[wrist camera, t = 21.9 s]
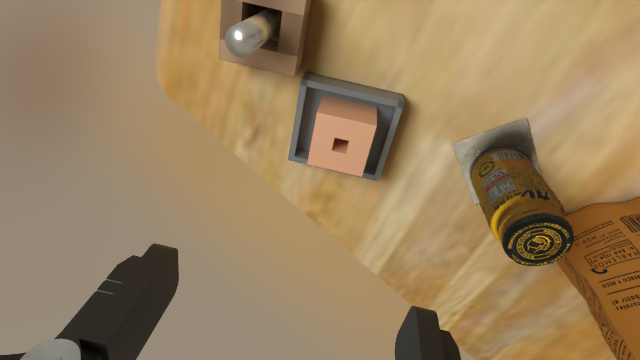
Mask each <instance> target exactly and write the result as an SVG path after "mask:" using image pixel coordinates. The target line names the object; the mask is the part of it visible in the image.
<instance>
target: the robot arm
mask: <svg viewBox="0 0 640 360" xmlns="http://www.w3.org/2000/svg"><path fill="white" fill-rule="evenodd" d="M178 281H179V273H178V250H177V249H176V248H172V247H168V246H164V245H160V244H152V245H151V246H150V247H149V249H148V250H147V251H146V252H145V254H144V255H143V256H142V257H138V256H134V255H133V256H131V257H130V258H128V259H126V260H125V261H123V262H121V263H120V264H118V265H117V266H116V268H114V270H113V271H112V272H111V273H110V274H109V276H108V277H107V278H106V281H104V282H103V283H102V284H101V285H100V286H99V288H98V289H97V291H96V292H94V294H93V295H92V296H91V297H90V298H89V300H88V301H87V302H86V303H85V305H84V306H83V307H82V308H81V309H80V310H79V312H78V313H77V314H76V315H75V317H73V319H72V320H71V321H70V322H69V323H68V325H67V326H66V327H65V328H64V329H63V331H62V332H61V333H60V334H59V335H58V336H57V337H56V338H55V339H53V340H49V341H46V342H43V343H41V344H39V345H37V346H35V347H34V348H32V349H31V350H29V351H28V352H26V353H21V354H12V355H0V360H136V359H137V356H138V355H139V354H140V352H141V350H142V349H143V347H144V345H145V343H146V342H147V340H148V338H149V337H150V335H151V333H152V332H153V330H154V328H155V327H156V325H157V323H158V322H159V320H160V318H161V317H162V315H163V313H164V311H165V310H166V308H167V306H168V305H169V303H170V301H171V300H172V298H173V296H174V294H175V292H176V289H177V286H178ZM395 360H461V357H460V353H459V348H458V346H457V344H456V343H455V341H454V339H453V337H452V336H451V334H450V332H449V331H444V330H440V328H439V322H438V316H437V313H436V312H435V311H433V310H429V309H425V308H420V307H416V306H412V307H411V308H410V310H409V312H408V314H407V316H406V318H405V320H404V322H403V324H402V326H401V328H400V330H399V332H398V334H397V338H396V343H395Z"/></svg>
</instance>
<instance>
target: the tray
mask: <svg viewBox="0 0 640 360" xmlns="http://www.w3.org/2000/svg"><path fill="white" fill-rule="evenodd" d="M323 95H329V96H333V97H338V98H342V99H346V100H351V101H355V102H360V103H364V104H369V105H373V106H377V127H376V130H375V134H374V137H373V141H372V144H371V148H370V151H369V154H368V158H367V161H366V165H365V168H364V171H363V175H362V178H367V179H371V180H375V181H379V179H380V176H381V173H382V170H383V167H384V164H385V161H386V158H387V155H388V152H389V149H390V146H391V143H392V140H393V137H394V134H395V131H396V128H397V125H398V122H399V119H400V116H401V113H402V110H403V107H404V104H405V101H404V96H403V94H400V93H395V92H391V91H387V90H382V89H378V88H374V87H369V86H365V85H361V84H357V83H352V82H348V81H344V80H339V79H335V78H331V77H326V76H322V75H318V74H313V73H309V72H305V74H304V76H303V77H302V79H301V85H300V91H299V97H298V103H297V109H296V115H295V121H294V127H293V133H292V139H291V145H290V151H289V157H288V160H290V161H294V162H298V163H303V164H307V162H308V156H309V151H310V146H311V141H312V135H313V130H314V125H315V120H316V115H317V111H318V108H319V106H320V103H321V100H322V98H323ZM307 165H308V164H307ZM311 166H312V165H311ZM315 167H317V166H315ZM320 168H321V167H320ZM324 169H325V168H324ZM328 170H330V169H328ZM333 171H334V170H333ZM337 172H339V171H337ZM341 173H343V172H341ZM345 174H347V173H345ZM350 175H352V174H350ZM354 176H356V175H354ZM358 177H360V176H358Z"/></svg>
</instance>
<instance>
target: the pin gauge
mask: <svg viewBox="0 0 640 360" xmlns="http://www.w3.org/2000/svg"><path fill="white" fill-rule="evenodd" d="M281 18H282V12H281V11H280V10H277V9H273V8H268V9H266V10H264V11H262V12H260V13H258V14H256V15H254V16H252V17H250V18H248V19H246V20H244V21H242V22H240V23H238V24H236V25H234V26H232V27H230V28H229V29H228V30H227V32H226V35H225V43H226V46H227V48H228V50H229V51H230V52H231V53H232V54H233V55H235V56H238V57H246V56H249V55H250V54H251V53H253V52H254V51H255V50H256V49H258V48H259V47H260V46H261V45H263V44H264V43H265V42H267V41H268V40H269V39H270V38H272V37H273V36H274V35H275V34H277V33H278V32H279V31H280V27H281Z"/></svg>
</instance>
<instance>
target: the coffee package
mask: <svg viewBox="0 0 640 360" xmlns="http://www.w3.org/2000/svg"><path fill="white" fill-rule="evenodd" d="M565 218H566V220H567V221H568V222H569V224H570V225H571V226H572V230H573V232H574V233H573V235H574V242H573V244H572V247H571V249H570V250H569V251H568V252H567V253H566V254H565V255H564V256H563V257H562V258H560V259H559V260H557V262H558V264H559V265H560V267H561V268H562V270H563V271H564V272H565V274H566V275H567V277H568V278H569V280H570V281H571V283H572V284H573V285H574V286H575V287H576V288H577V290H578V291H579V292H580V294H581V295H582V296H583V297H584V299H585V300H586V301H587V304H588V306H589V309H590V312H591V314H592V316H593V317H594V319H595V320H596V322H597V323H598V325H599V328H600V330H601V332H602V335H603V337H604V339H605V341H606V342H607V344H608V346H609V347H610V349H611V351H612V352H613V354H614V356H615V357H616V359H617V360H640V197H637V198H634V199H632V200H629V201H626V202H619V203H596V204H591V205H588V206H586V207H584V208H582V209H579V210H578V211H576V212H574V213H572V214H569V215H566V216H565Z"/></svg>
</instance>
